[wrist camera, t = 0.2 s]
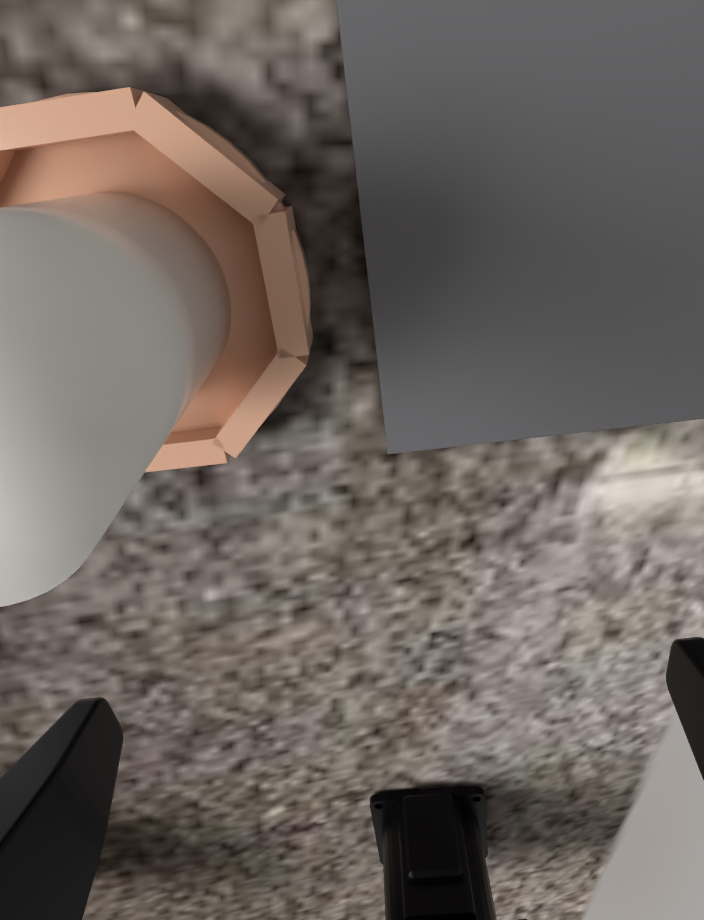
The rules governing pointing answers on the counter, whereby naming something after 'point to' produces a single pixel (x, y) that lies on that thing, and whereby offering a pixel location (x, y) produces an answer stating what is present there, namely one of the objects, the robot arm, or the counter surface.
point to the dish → (210, 214)
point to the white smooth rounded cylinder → (93, 367)
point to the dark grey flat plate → (530, 213)
